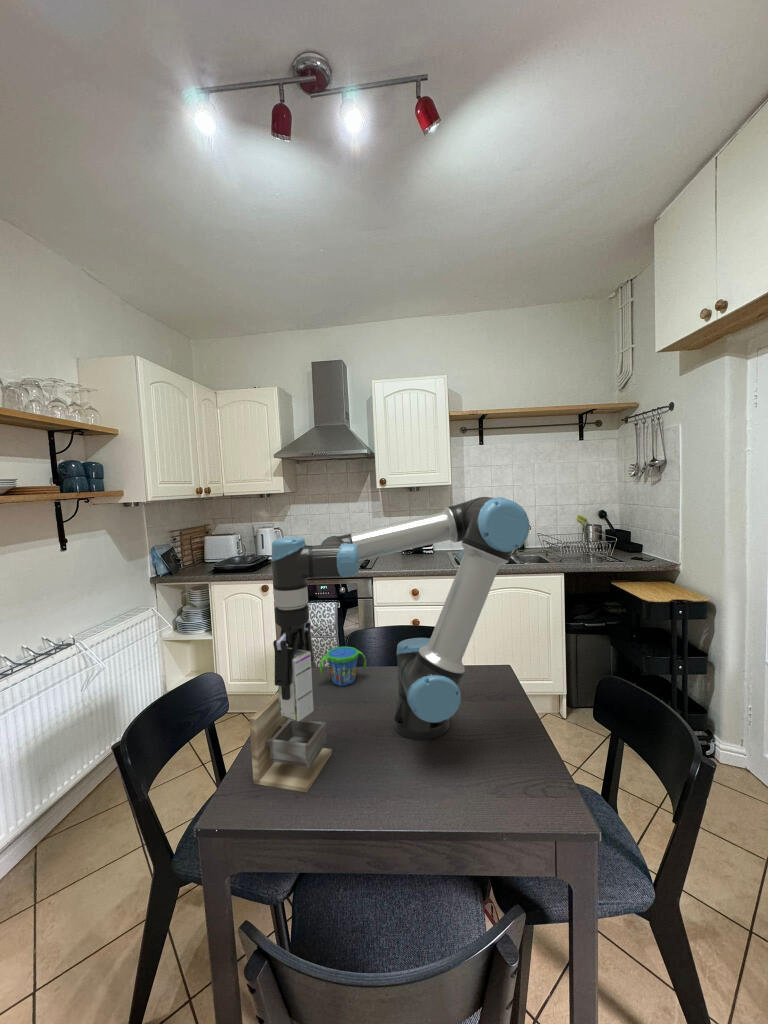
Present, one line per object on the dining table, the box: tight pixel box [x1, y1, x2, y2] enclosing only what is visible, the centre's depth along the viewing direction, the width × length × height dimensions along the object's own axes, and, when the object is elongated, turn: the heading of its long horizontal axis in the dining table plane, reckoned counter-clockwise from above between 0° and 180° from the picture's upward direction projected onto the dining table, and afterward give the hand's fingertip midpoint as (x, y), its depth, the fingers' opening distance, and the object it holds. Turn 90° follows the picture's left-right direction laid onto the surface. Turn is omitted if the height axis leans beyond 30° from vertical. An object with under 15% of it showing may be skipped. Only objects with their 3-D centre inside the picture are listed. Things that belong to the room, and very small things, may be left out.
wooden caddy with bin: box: [248, 691, 333, 793], centre depth 102 cm, size 13×14×15 cm
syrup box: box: [277, 648, 315, 722], centre depth 100 cm, size 6×6×14 cm
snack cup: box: [319, 646, 367, 687], centre depth 145 cm, size 16×10×10 cm
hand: (296, 703), depth 101 cm, fingers closed on syrup box, 7 cm apart
